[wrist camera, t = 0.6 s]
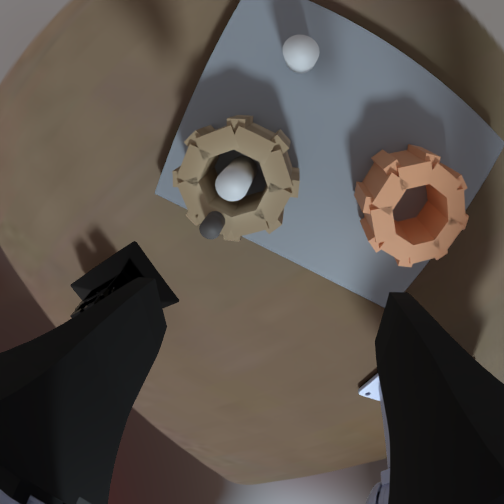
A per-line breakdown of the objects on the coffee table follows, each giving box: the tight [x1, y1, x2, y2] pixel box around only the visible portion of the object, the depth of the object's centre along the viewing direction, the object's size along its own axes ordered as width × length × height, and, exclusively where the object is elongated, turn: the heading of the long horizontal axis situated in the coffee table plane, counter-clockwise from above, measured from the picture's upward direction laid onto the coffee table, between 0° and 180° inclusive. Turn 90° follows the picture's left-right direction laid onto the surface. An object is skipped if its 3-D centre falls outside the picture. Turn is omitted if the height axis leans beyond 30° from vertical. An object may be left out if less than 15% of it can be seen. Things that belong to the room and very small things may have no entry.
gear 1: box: [172, 115, 300, 242], centre depth 14 cm, size 6×6×4 cm
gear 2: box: [354, 144, 469, 267], centre depth 13 cm, size 6×6×3 cm
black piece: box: [71, 241, 179, 318], centre depth 21 cm, size 12×7×5 cm, turn 121°
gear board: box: [155, 0, 504, 308], centre depth 13 cm, size 16×13×4 cm
